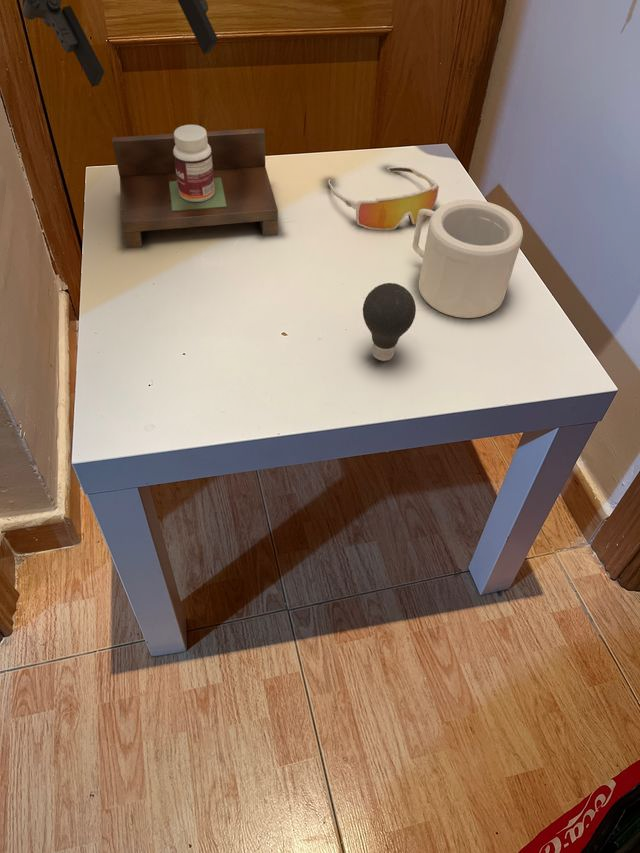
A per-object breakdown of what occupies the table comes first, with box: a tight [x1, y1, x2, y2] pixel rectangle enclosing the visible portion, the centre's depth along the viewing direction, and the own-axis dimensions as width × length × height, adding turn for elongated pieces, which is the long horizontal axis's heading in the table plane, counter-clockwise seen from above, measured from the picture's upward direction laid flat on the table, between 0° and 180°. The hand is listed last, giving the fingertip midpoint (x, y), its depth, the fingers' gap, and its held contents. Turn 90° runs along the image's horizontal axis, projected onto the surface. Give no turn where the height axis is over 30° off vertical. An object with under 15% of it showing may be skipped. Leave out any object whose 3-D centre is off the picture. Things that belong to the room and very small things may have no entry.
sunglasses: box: [327, 166, 440, 231], centre depth 98 cm, size 14×15×5 cm
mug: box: [412, 199, 524, 319], centre depth 83 cm, size 14×11×10 cm
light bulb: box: [362, 282, 417, 362], centre depth 75 cm, size 6×6×10 cm
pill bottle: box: [173, 124, 215, 202], centre depth 88 cm, size 5×5×8 cm
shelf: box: [112, 127, 279, 249], centre depth 91 cm, size 20×12×9 cm, turn 101°
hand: (157, 63), depth 71 cm, fingers open, 13 cm apart
